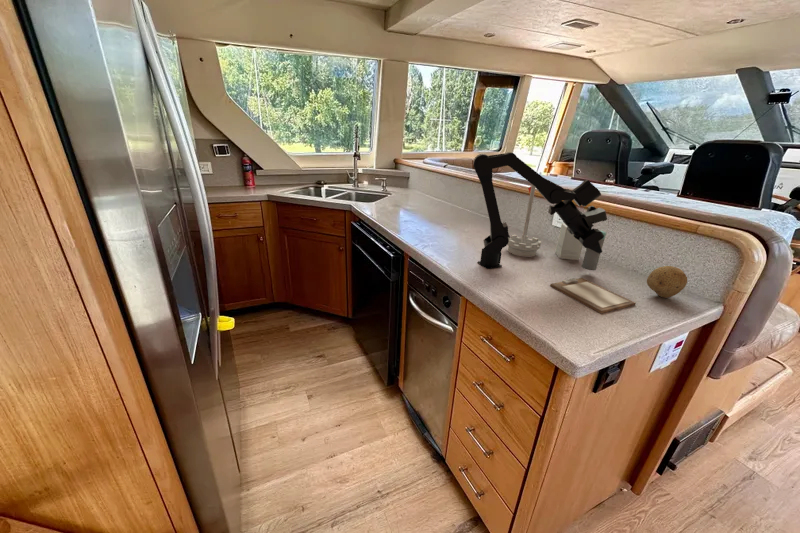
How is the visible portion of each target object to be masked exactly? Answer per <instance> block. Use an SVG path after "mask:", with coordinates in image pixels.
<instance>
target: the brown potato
mask: <svg viewBox="0 0 800 533" xmlns="http://www.w3.org/2000/svg"><path fill="white" fill-rule="evenodd" d="M646 284H647V286H648V287H649V289H651V290H652V291H653V292H655V294H656V295H657V296H659V297H661V298H663V299H666V298H671V297H674V296H675V295H678V294H680V292H681V291H682V290H684V289H685V287H686V286H687V284H688V277H687V274H686V273H685V271H683V270H682V269H681V268H679V267H676V266H673V265H665V266H664V265H663V266H659V267H657V268H655V269H653V270H652V271H651V272H650V273H649V275H648V276H647V278H646Z"/></svg>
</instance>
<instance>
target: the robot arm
mask: <svg viewBox="0 0 800 533" xmlns="http://www.w3.org/2000/svg"><path fill="white" fill-rule="evenodd" d="M472 164H473V168H474V171H475V173H476V175H477V178H478V180H479V182H480V184H481V188H482V192H483V196H484V197H483V198H484V202H485V206H486V209H487V214H488V219H489V235H488V236H487V237H485V238H484V239H483V245H484V246H483V248H481V254H480V260H478V261H477V262H476V263H477V264H478V265H480V266H482V267H483V268H485V269H487V270H491V269H497V268H502V267H503V265H502V264H501V260H502V249H504V248H505V247H507V246H508V245H507V244H508V242H509V239H508V238H511V235H510V233H509V226H508V224H507V222H505V221H504V222H503V223H502V219H501V215H500V211H499V206H498V201H497V198H496V193H495V188H494V183H493V170H494V169H498V168H502V167H507V166H508V167H509V168H511V170H513V171H515V172H516V173H517V174H518V175H519V176H521V177H522V178H524V179H525V180H526V181H528V182H529V183H530V184H531V186H532V185H534V187H535V190H536V191H538V193H539V194H540V195H541V196H542V197H543V199H544V200H546V201H547V202H548V203H550V204H552V205H549V206H548V207H549V208H548V211H547V212H548V214H549V215H550V216H553V215H555V213H556V214H557V215H558V217H559V218H560V219H561V221H562V223H564V224H565V225H567V230H568V231H569V233H570V234H571V235H572V234H574V237H575V238H576V239H578V240H579V241H580V243H581V244H582V245H583V246H582V247H583V248H585V249H586V248H589V249H591V250H593V251H595V252H597V253H599V254H600V255H601V253H603V250H602V249H603V248H602V249H601V247H600V244H599V240H601V239H602V238H604V235H603V233H602V232H601V231H602V230H600V231H599V229H598V228H593V227H594V226H595V225H594V224H598V223H600V222H606V221H607V220H608V217H607V212H606V209H604V208H603V207H597V208H596V207H595V206H594V205H590V206H588V205H589V204H591V203H592V202H594V201H595V200H597V199H598V198H600V197H601V196H602V193H601V191H600V190H599V188H597V187H596V186H595V185H594V184H593V183H592V182H591V181H590V180H589V179H584V180H583V181H582V182H581V183H580V184H579V185H577V186H576V187H575V188H573V189H572V190H570V189H568V188H567V189H566V188H564V187H562V186H561V185H559V184H557V183H555V182H554V181H552V180H550V179H547V178H545V177H543V176H542V175H541V174H539V173H538V172H537V171H535V169H533V168H532V167H530V165H528V164H527V163H525V162H524V161H523V160H521V159H520V158H519V157H518V156H517V155H516V153H513V152H512V151H508V152H505V153H498V154H491V155H487V154H486V153H479V154H478V155H476V156H475V157H474V159H473V162H472ZM573 201H574V202H573ZM577 206H578V207H581V206H582V207H583V208H584V207H587V206H588V207H587V208H586V211H585V212H584V213H583V212H582V211H581V210H580V209H579V208H578V207H577Z"/></svg>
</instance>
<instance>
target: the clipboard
mask: <svg viewBox="0 0 800 533" xmlns="http://www.w3.org/2000/svg"><path fill="white" fill-rule="evenodd" d="M549 287H551V288H553V289H555V290H557V291H558V292H560V293H563V294H564V295H566V296H568V297H569V298H572V299H573V300H575V301H577V302H579V303H581V304H582V305H585V306H586V307H587V308H590V309H591V310H594V311H595V312H597V313H599V314H605V313H610V312H612V311H617V310H621V309H624V308H630V307H633V306H636V302H635V301H633V300H631V299H629V298H627V297H624V296H622V295H620V294H618V293H616V292H614V291H611V290H609V289H608V288H605V287H603V286H601V285H598V284H597V283H594V282H592V281H590V280H588V279H586V278H583V277H580V278H570V279H565V280H562V281H559V282H558V281H557V282H552V283H550V285H549Z"/></svg>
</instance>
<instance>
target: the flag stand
mask: <svg viewBox="0 0 800 533" xmlns="http://www.w3.org/2000/svg"><path fill="white" fill-rule="evenodd" d="M535 191H536V188H535V187H534V185H532V184H531V185H530V186H529V187H528V192H529V198H528V203H527V210H526V215H525V221H524V226H523V232H522V234H521V237H519V236H518V235H517V234H512V235H510V238H508V239H509V242H508V244H507V245H506V246H508V247H507V252H509V254H511V253H512V254H511V255H514V256H518V257H523V258H524V257H534V256H536V254H537V252H538V250H539V249H540V248H541V245H542V240H540V239H539V238H538V237H532V238H529V235H528V231H529V230H528V229H529V223H530V220H531V214H532V208H533V203H534V198H535V193H536V192H535Z"/></svg>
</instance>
